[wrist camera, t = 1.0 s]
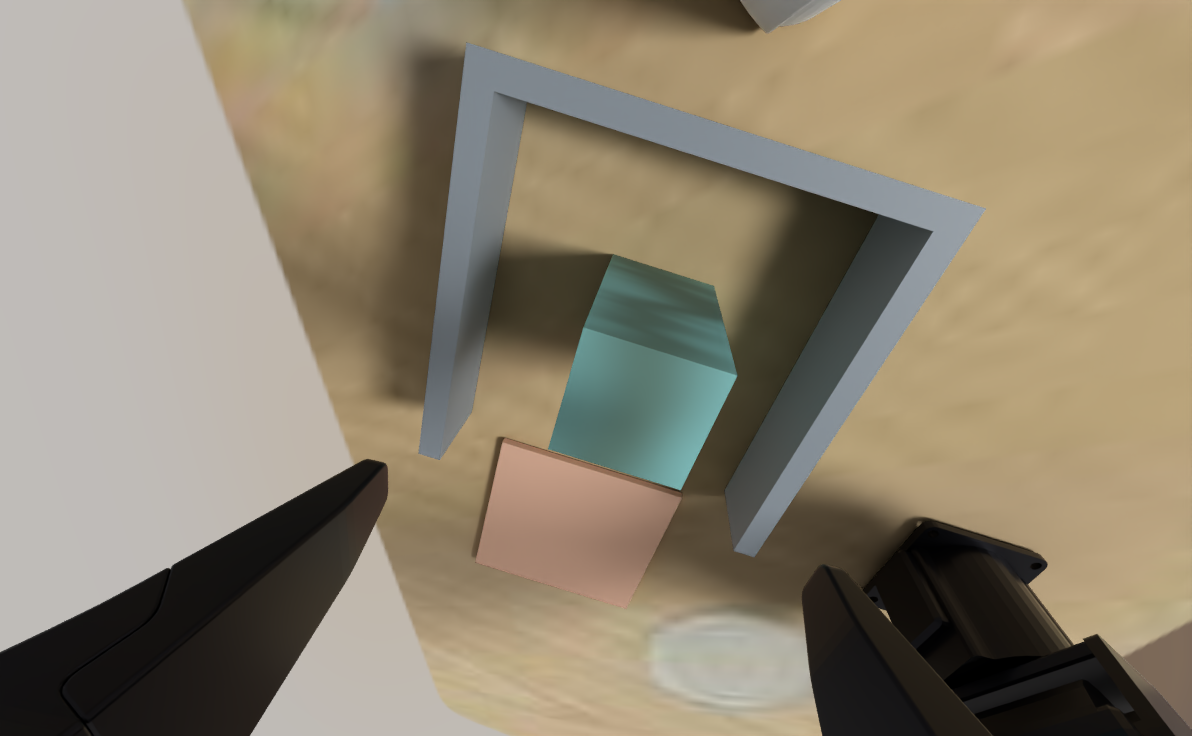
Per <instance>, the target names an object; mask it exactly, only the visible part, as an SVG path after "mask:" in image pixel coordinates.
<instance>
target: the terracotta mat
mask: <svg viewBox="0 0 1192 736" xmlns="http://www.w3.org/2000/svg"><path fill="white" fill-rule="evenodd" d="M681 499H682V493H681V492H678V491H675V490H671V489H668V488H665V487H662V486H658V485H655V484H652V483H649V482H646V481H642V480H639V479H636V478H633V477H629V476H626V475H623V474H620V473H617V472H613V471H610V470H607V469H604V468H600V467H597V466H594V465H591V464H588V463H584V462H581V461H578V460H575V459H571V458H568V457H565V456H562V455H559V454H555V453H552V452H549V451H546V450H542V449H539V448H536V447H533V446H529V445H526V444H523V443H520V442H517V441H513V440H510V439H507V438H504V440H503V442H502V447H501V451H500V455H499V460H498V464H497V469H496V473H495V477H494V482H493V486H492V491H491V495H490V499H489V504H488V508H487V513H486V517H485V522H484V526H483V530H482V535H481V539H480V544H479V548H478V552H477V557H476V561H475V563H478V564H482V565H485V566H488V567H491V568H495V569H498V570H501V571H504V572H508V573H511V574H514V575H518V576H521V577H524V578H527V579H531V580H534V581H537V582H540V583H544V584H547V585H550V586H553V587H557V588H560V589H563V590H566V591H570V592H573V593H576V594H579V595H583V596H586V597H589V598H593V599H596V600H599V601H602V602H606V603H609V604H612V605H615V606H619V607H622V608H625V609H626V608H627V606H628V604H629V602H630V600H631V598H632V596H633V594H634V592H635V590H636V589H637V587H638V585H639V583H640V581H641V579H642V577H643V575H644V573H645V571H646V569H647V567H648V565H649V563H650V561H651V559H652V557H653V555H654V553H655V551H656V549H657V547H658V545H659V543H660V541H661V539H662V537H663V535H664V533H665V531H666V529H667V527H668V525H669V523H670V521H671V519H672V517H673V515H674V513H675V511H676V509H677V507H678V505H679V503H680V501H681Z"/></svg>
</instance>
